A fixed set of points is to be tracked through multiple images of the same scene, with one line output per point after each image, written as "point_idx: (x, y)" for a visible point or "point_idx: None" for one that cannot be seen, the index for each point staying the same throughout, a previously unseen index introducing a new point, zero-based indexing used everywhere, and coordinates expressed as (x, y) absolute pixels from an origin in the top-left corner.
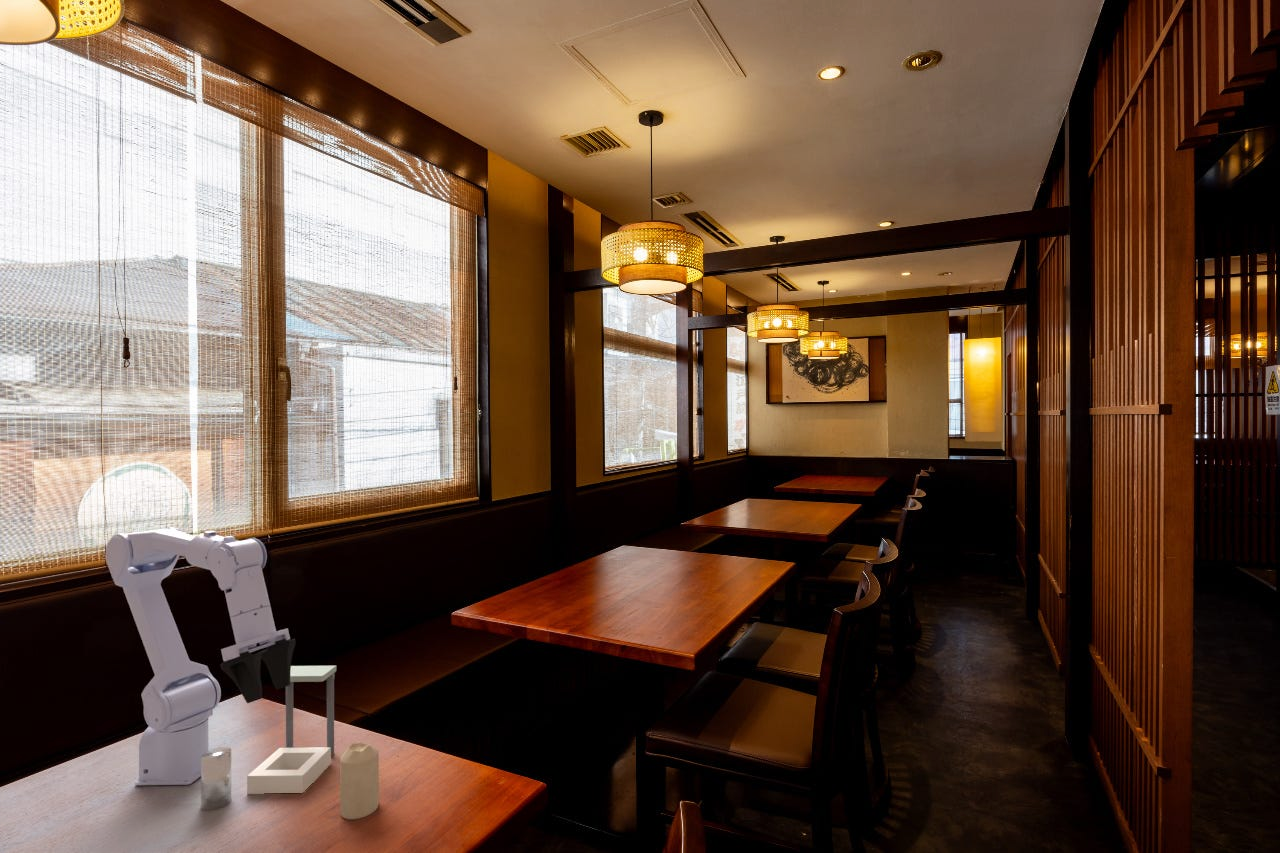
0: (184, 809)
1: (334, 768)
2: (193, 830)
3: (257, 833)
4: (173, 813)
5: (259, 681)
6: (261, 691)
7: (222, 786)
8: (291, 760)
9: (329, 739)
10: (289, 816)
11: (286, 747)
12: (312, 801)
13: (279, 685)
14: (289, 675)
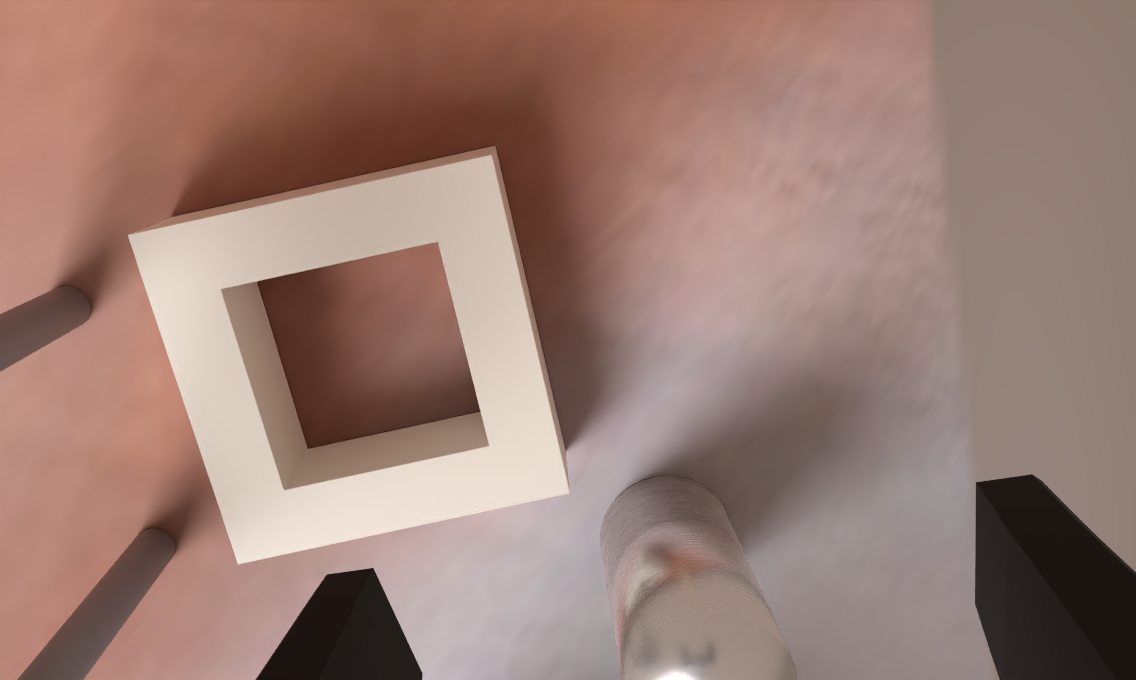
0: None
1: (204, 158)
2: (879, 452)
3: (863, 110)
4: None
5: (1132, 635)
6: (1025, 530)
7: (709, 526)
8: (280, 427)
9: (37, 325)
10: (703, 52)
11: (157, 576)
12: (550, 27)
13: (398, 674)
14: (289, 660)
